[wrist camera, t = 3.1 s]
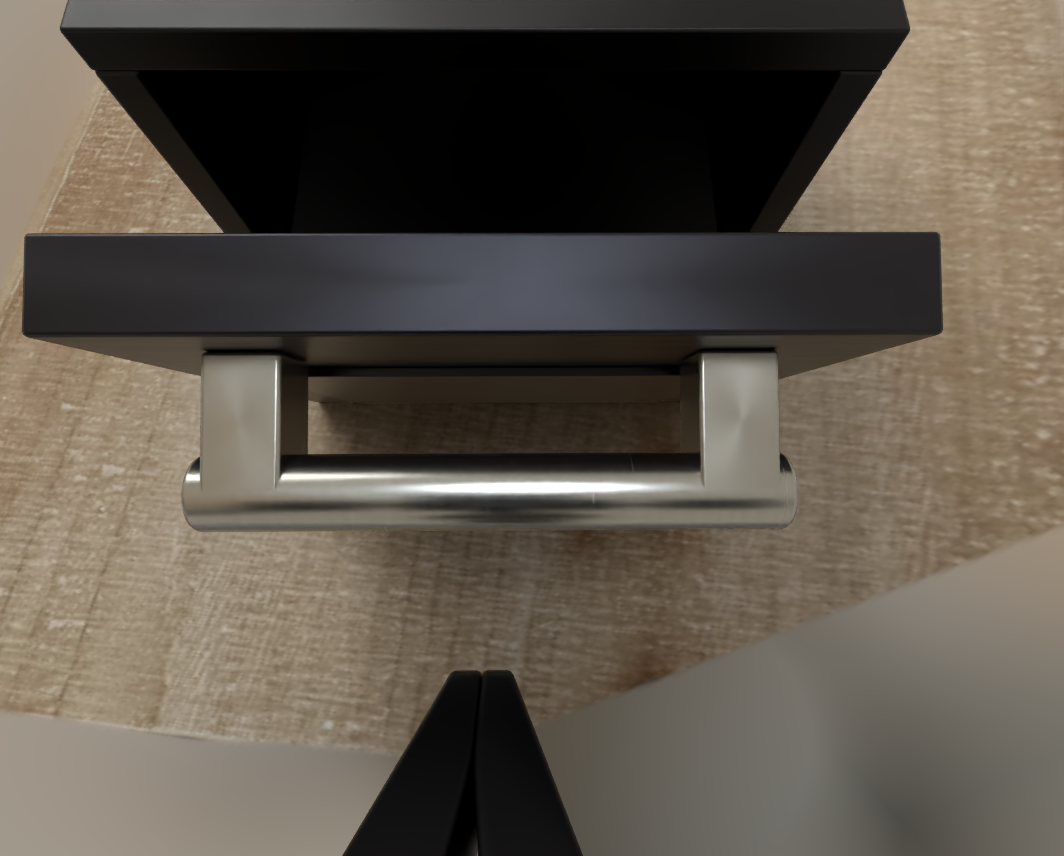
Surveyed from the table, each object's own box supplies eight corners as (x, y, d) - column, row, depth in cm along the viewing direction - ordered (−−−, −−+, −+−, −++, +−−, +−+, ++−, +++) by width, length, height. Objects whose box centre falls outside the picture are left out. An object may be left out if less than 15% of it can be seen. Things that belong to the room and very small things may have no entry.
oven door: (702, 488, 22) (951, 545, 9) (317, 490, 21) (13, 550, 9) (700, 358, 22) (943, 229, 9) (318, 359, 22) (21, 231, 9)
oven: (697, 355, 22) (912, 30, 10) (322, 356, 22) (57, 30, 10) (667, 47, 27) (790, -448, 14) (355, 47, 26) (201, -451, 14)
